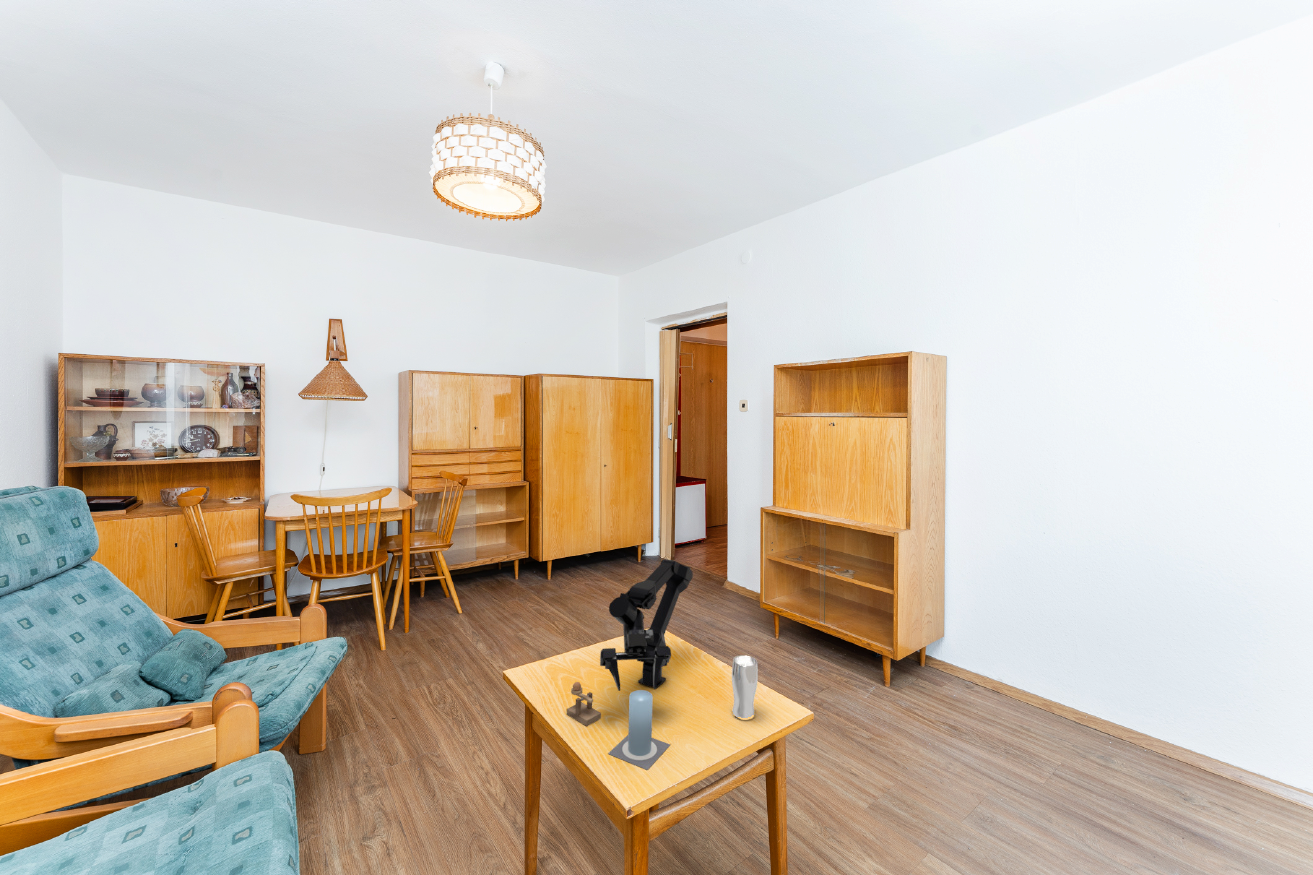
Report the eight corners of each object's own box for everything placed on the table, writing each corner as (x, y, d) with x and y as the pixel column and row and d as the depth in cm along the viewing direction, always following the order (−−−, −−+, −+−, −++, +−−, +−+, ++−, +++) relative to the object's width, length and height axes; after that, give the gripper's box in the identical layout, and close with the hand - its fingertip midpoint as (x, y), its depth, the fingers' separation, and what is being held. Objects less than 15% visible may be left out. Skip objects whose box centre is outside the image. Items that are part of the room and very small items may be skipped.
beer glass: (728, 707, 149) (729, 654, 148) (752, 707, 149) (754, 654, 149) (733, 722, 142) (735, 666, 141) (759, 721, 142) (761, 666, 142)
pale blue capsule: (635, 738, 133) (637, 687, 132) (655, 746, 130) (656, 694, 130) (623, 750, 128) (624, 697, 128) (643, 758, 125) (645, 704, 125)
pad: (632, 730, 137) (632, 730, 137) (670, 744, 131) (670, 744, 131) (607, 753, 127) (607, 753, 127) (647, 770, 122) (647, 769, 122)
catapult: (565, 713, 144) (566, 683, 143) (579, 706, 147) (580, 677, 147) (586, 726, 138) (587, 695, 138) (600, 718, 142) (601, 688, 141)
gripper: (601, 619, 141) (602, 680, 131) (670, 616, 144) (677, 677, 133) (599, 635, 149) (600, 695, 139) (665, 633, 152) (671, 691, 141)
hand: (637, 689), depth 138 cm, fingers open, 9 cm apart
